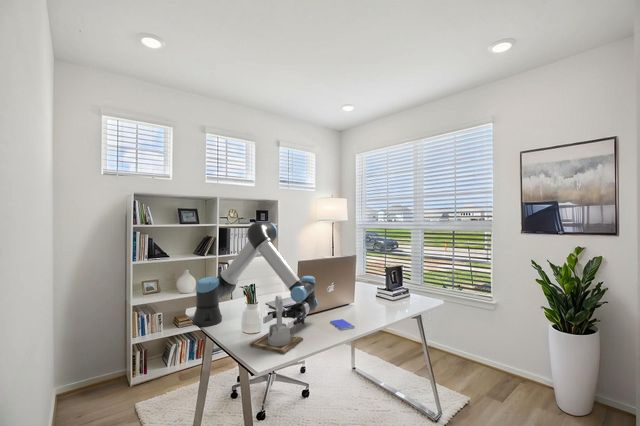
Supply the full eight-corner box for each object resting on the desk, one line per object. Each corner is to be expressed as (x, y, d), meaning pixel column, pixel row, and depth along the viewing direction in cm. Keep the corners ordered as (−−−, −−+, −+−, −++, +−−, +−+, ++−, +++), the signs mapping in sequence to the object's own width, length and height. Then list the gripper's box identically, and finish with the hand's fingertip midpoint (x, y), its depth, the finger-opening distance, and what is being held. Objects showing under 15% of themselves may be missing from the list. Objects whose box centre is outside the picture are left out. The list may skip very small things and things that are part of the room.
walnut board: (250, 346, 137) (250, 342, 137) (270, 333, 151) (270, 331, 151) (284, 354, 129) (284, 350, 129) (302, 340, 144) (302, 337, 144)
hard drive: (354, 326, 160) (343, 318, 171) (341, 328, 157) (330, 320, 168) (354, 329, 160) (343, 321, 171) (341, 331, 157) (330, 323, 168)
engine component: (270, 347, 133) (293, 344, 136) (270, 300, 133) (293, 298, 136) (266, 338, 143) (287, 335, 147) (266, 294, 143) (287, 292, 147)
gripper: (321, 321, 153) (300, 336, 134) (278, 314, 164) (253, 326, 145) (321, 306, 153) (300, 318, 134) (279, 299, 164) (254, 310, 145)
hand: (276, 323), depth 139 cm, fingers open, 13 cm apart
